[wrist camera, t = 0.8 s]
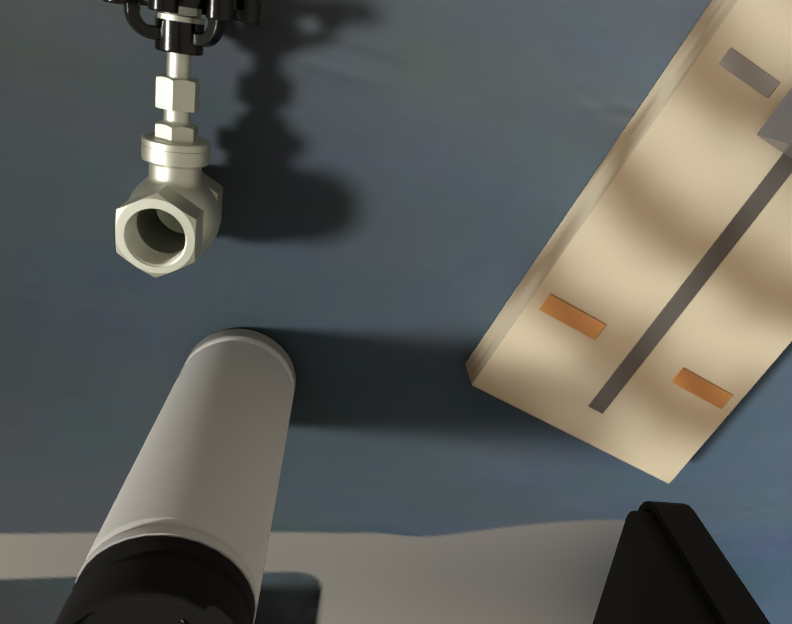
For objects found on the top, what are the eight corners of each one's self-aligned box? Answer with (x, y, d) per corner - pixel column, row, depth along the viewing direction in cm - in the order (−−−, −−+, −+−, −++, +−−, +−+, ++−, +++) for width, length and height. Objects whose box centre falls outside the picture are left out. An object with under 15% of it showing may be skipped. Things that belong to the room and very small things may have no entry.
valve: (251, 246, 36) (270, 2, 32) (231, 291, 30) (249, -3, 26) (124, 230, 36) (124, -23, 31) (76, 273, 30) (67, -34, 25)
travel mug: (158, 360, 38) (-25, 670, 20) (258, 307, 38) (162, 581, 19) (220, 441, 41) (107, 787, 22) (316, 394, 40) (281, 713, 21)
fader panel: (766, -79, 31) (799, -87, 29) (968, 80, 35) (1013, 85, 32) (464, 363, 40) (472, 386, 37) (652, 459, 43) (669, 484, 40)
